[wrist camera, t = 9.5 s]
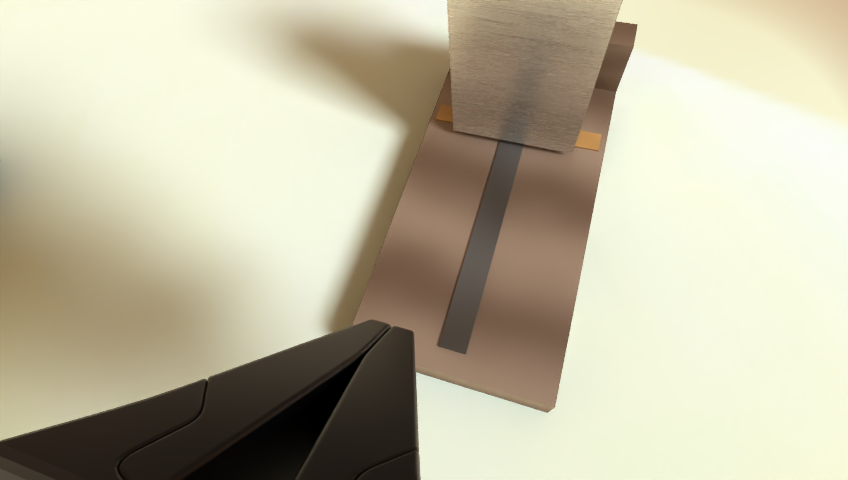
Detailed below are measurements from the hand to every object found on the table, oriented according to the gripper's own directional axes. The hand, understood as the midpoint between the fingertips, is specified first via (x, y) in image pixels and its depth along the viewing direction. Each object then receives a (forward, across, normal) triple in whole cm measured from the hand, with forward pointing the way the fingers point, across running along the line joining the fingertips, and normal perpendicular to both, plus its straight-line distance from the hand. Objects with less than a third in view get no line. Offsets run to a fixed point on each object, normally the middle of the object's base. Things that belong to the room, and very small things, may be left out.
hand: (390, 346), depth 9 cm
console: (+17, 0, +2) cm, 17 cm away
